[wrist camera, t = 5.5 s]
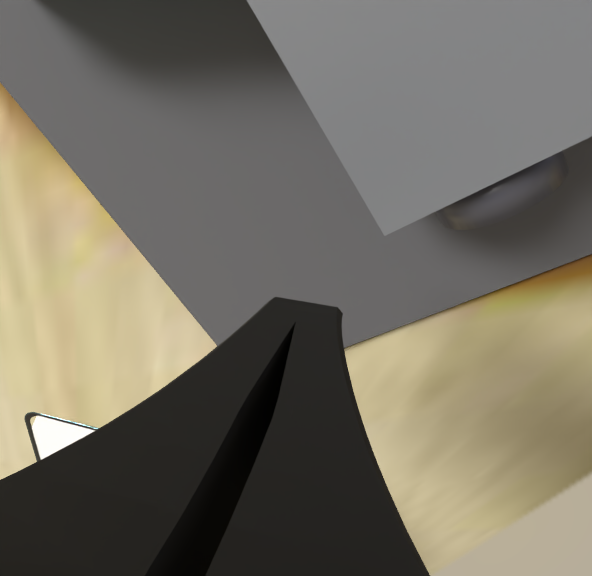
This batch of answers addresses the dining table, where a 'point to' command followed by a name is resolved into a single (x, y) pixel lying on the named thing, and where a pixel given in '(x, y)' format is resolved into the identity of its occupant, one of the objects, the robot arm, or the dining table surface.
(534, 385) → the dining table surface
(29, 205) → the dining table surface
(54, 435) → the smartphone
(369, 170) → the housing
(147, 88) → the mat
